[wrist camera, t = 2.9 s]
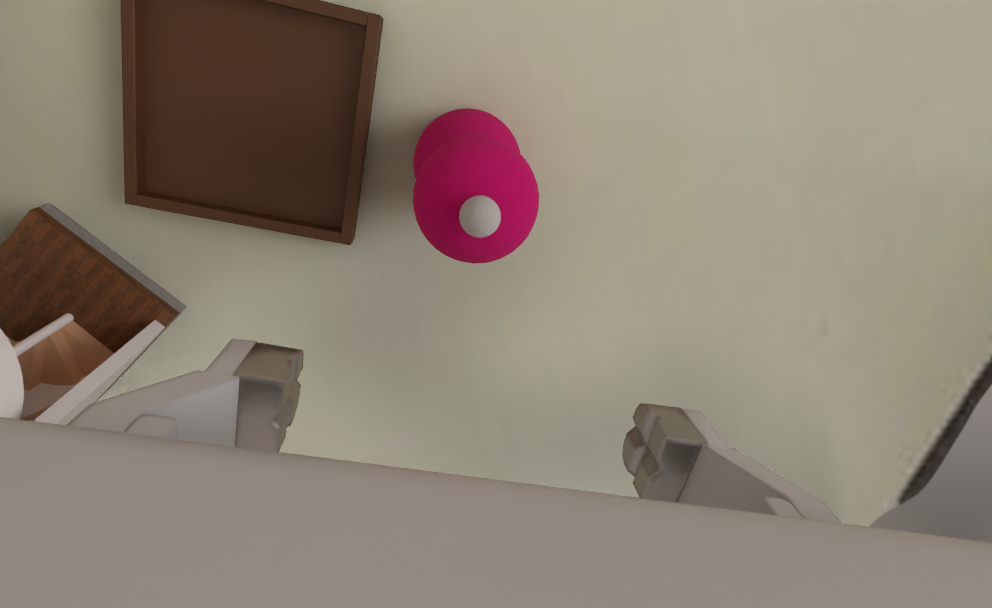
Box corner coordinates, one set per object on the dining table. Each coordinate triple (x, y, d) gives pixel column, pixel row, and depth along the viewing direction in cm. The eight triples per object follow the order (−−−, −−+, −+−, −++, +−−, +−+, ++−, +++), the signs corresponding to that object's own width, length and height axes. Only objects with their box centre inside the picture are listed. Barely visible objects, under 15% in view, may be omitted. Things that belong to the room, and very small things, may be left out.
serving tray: (383, 18, 37) (380, 15, 36) (354, 238, 43) (350, 245, 41) (134, -44, 35) (118, -51, 33) (137, 198, 40) (124, 203, 39)
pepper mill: (410, 196, 42) (381, 289, 23) (424, 96, 39) (404, 112, 21) (503, 212, 43) (546, 314, 25) (523, 116, 40) (587, 149, 22)
